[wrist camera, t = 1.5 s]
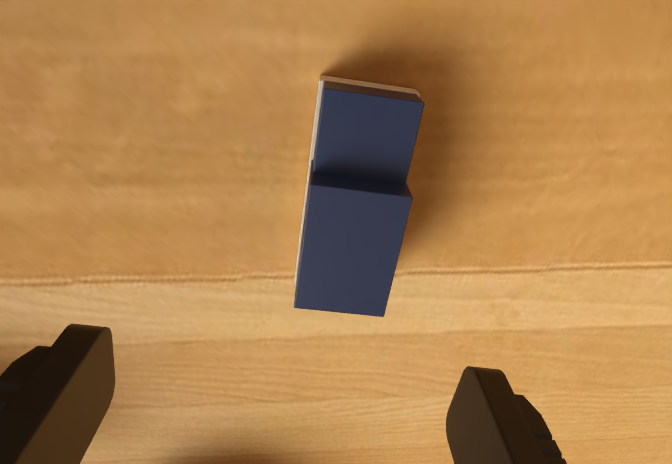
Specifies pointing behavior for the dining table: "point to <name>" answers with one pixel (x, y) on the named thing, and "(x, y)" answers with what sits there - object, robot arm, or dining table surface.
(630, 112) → the dining table surface
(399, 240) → the blue stepped block
